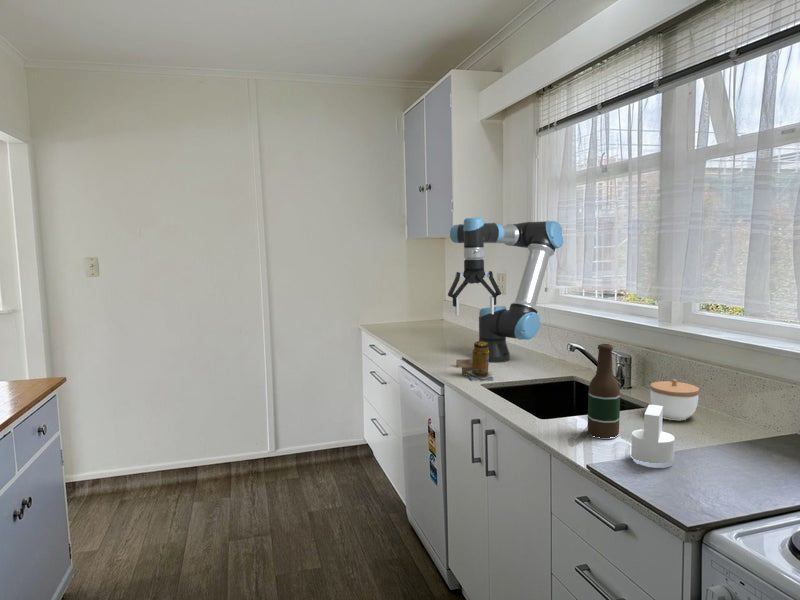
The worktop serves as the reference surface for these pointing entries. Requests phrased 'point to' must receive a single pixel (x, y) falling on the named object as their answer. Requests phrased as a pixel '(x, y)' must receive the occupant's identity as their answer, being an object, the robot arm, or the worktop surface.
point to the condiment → (481, 360)
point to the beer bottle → (604, 397)
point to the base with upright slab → (653, 439)
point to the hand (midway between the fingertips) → (474, 314)
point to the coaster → (478, 377)
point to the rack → (464, 365)
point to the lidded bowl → (675, 398)
